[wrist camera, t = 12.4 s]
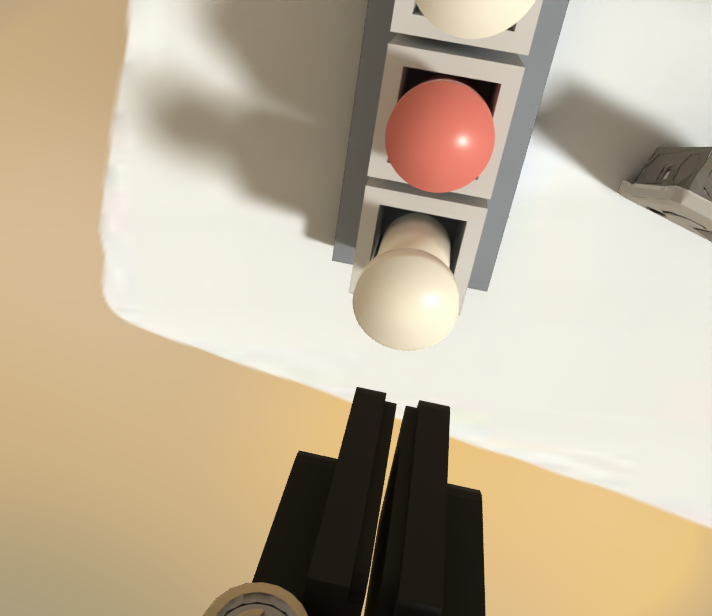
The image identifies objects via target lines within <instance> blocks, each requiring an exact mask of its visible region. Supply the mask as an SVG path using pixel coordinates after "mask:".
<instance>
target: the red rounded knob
mask: <svg viewBox="0 0 712 616" xmlns="http://www.w3.org/2000/svg"><path fill="white" fill-rule="evenodd" d="M494 143H495V129H494V123H493V118H492V115H491V112H490V109H489V107H488V106H487V104H486V102H485V101H484V99H483V98H482V97H481V96H480V95H479V94H478V93H477V91H476V89H475V87H474V86H473V84H472V83H471V82H470V81H469V80H468V79H466V78H465V77H461V76H455V75H450V74H444V73H439V72H438V73H435V74H432V75H430V76H428V77H426V78H425V79H424V80H422V81H421V82H420V83H419V84H418V85H417V86H415V87H413V88H412V89H410V90H409V91H408V92H407V93H405V94H404V95H403V96H402V98H401V99H400V100H399V101H398V103H397V104H396V106H395V107H394V109H393V111H392V113H391V115H390V117H389V120H388V123H387V127H386V132H385V147H386V152H387V155H388V159H389V161H390V163H391V165H392V167H393V168H394V170H395V171H396V173H397V174H398V175H399V176H400V177H401V178H402V179H403V180H404V181H406V182H407V183H408V184H410V185H411V186H413V187H415V188H418V189H420V190H423V191H427V192H433V193H444V192H450V191H454V190H457V189H460V188H462V187H464V186H466V185H468V184H469V183H471V182H472V181H473V180H475V179H476V178H477V177H478V176H479V175H480V174H481V173H482V171H483V170H484V169H485V167H486V166H487V164H488V162H489V160H490V158H491V155H492V152H493V149H494Z"/></svg>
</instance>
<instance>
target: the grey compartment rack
mask: <svg viewBox="0 0 712 616" xmlns="http://www.w3.org/2000/svg"><path fill="white" fill-rule="evenodd" d="M568 3H569V0H536V1H535V3H534V4H533V5H532V7H531V8H530V9H529V11H528V12H527V13H526V14H525V15H524V16H523V17H522V18H521V19H520V20H519V21H518V22H516V23H515V24H514V25H513V26H511V27H510V28H508V29H506V30H505V31H503V32H501V33H498V34H496V35H493V36H490V37H486V38H480V39H464V38H459V37H455V36H452V35H449V34H447V33H445V32H443V31H441V30H439V29H438V28H436V27H435V26H434V25H433V24H431V23H430V22H429V21H428V19H427V18H426V17H425V16H424V15H423V14H422V12H421V11H420V9H419V8H418V6H417V4H416V2H415V0H368V6H367V13H366V20H365V28H364V35H363V42H362V49H361V56H360V64H359V71H358V78H357V85H356V92H355V100H354V107H353V114H352V121H351V128H350V135H349V143H348V150H347V157H346V164H345V171H344V179H343V186H342V193H341V200H340V207H339V215H338V222H337V229H336V236H335V243H334V251H333V258H332V261H337V262H342V263H347V264H352V265H353V269H352V275H351V282H350V288H349V293H352V294H354V290H355V287H356V284H357V281H358V278H359V276H360V274H361V272H362V270H363V268H364V267H365V266H366V265H367V263H369V262H370V261H371V260H372V259H373V258H374V257H376V256H377V254H378V251H379V248H380V245H381V241H382V238H383V235H384V233H385V231H386V229H387V227H388V226H389V225H390V224H391V223H392V222H393V221H394V220H395V219H397V218H399V217H400V216H403V215H406V214H411V213H420V214H425V215H428V216H431V217H433V218H435V219H436V220H438V221H439V222H440V223H441V224H442V225H443V226H444V227H445V229H446V230H447V232H448V235H449V238H450V243H451V250H450V266H449V269H450V270H451V272H452V273H453V275H454V277H455V279H456V281H457V285H458V290H459V310H458V315H460V313H461V309H462V305H463V302H464V298H465V294H466V290H467V288H472V289H477V290H482V291H487V290H488V286H489V283H490V279H491V276H492V272H493V269H494V265H495V262H496V258H497V255H498V251H499V247H500V244H501V240H502V237H503V233H504V230H505V226H506V223H507V219H508V216H509V212H510V209H511V205H512V201H513V198H514V194H515V191H516V187H517V184H518V180H519V177H520V173H521V170H522V166H523V163H524V159H525V155H526V152H527V148H528V145H529V141H530V138H531V134H532V131H533V127H534V124H535V120H536V117H537V113H538V109H539V106H540V102H541V99H542V95H543V92H544V88H545V85H546V81H547V78H548V74H549V71H550V67H551V63H552V60H553V56H554V53H555V49H556V46H557V42H558V39H559V35H560V32H561V28H562V24H563V21H564V17H565V14H566V10H567V7H568ZM438 72H439V73H444V74H450V75H455V76H461V77H465V78H466V79H468V80H469V81H470V82H471V83H472V84H473V86H474V87H475V89H476V91H477V93H478V94H479V95H480V96H481V97H482V98H483V99H484V101H485V102H486V104H487V106H488V107H489V109H490V112H491V115H492V118H493V123H494V129H495V143H494V149H493V152H492V155H491V158H490V160H489V162H488V164H487V166H486V167H485V169H484V170H483V171H482V173H481V174H480V175H479V176H478V177H477V178H476V179H475V180H473V181H472V182H471V183H469V184H468V185H466V186H464V187H462V188H460V189H457V190H454V191H450V192H444V193H433V192H427V191H423V190H420V189H418V188H415V187H413V186H411V185H410V184H408V183H407V182H406V181H404V180H403V179H402V178H401V177H400V176H399V175H398V174H397V173H396V171H395V170H394V168H393V167H392V165H391V163H390V161H389V159H388V155H387V152H386V147H385V132H386V127H387V123H388V120H389V117H390V115H391V113H392V111H393V109H394V107H395V106H396V104H397V103H398V101H399V100H400V99H401V98H402V96H403V95H404V94H405V93H407V92H408V91H409V90H410V89H412V88H413V87H415V86H417V85H418V84H419V83H420V82H421V81H422V80H424V79H425V78H426V77H428V76H430V75H432V74H435V73H438Z"/></svg>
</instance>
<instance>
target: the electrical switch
mask: <svg viewBox="0 0 712 616" xmlns="http://www.w3.org/2000/svg"><path fill="white" fill-rule="evenodd" d="M711 151H712V147H689V148H657V149H656V151H655V153H654V154H653V156H652V158H651V160H650V161H649V163H648V165H646V166H645V167H644V169H643V170H642V172H641V173H640V175H639V177H638V179H637V180H636V181H635V183H634V184H631V183H630V182H628V181H624V180H623V182H622V184H621V186H620V188H619V190H618V193H619V194H620V195H622V196H624V197H625V198H627V199H629V200H631V201H633V202H635V203H637V204H639V205H641V206H642V207H644V208H646V209H648V210H650V211H652V212H654V213H656V214H658V215H660V216H662V217H664V218H666V219H668V220H670V221H672V222H674V223H676V224H678V225H680V226H682V227H684V228H686V229H688V230H690V231H692V232H694V233H695V234H697V235H699V236H701V237H703V238H705V239H707V240H709V241H711V242H712V153H711ZM710 153H711V154H710ZM709 155H710V156H709ZM708 156H709V158H708ZM707 158H708V159H707ZM706 160H707V161H706Z"/></svg>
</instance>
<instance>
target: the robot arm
mask: <svg viewBox="0 0 712 616" xmlns="http://www.w3.org/2000/svg"><path fill="white" fill-rule="evenodd" d="M385 398H386V393H383V392H379V391H374V390H369V389H365V388H360V387H357V388H356V392H355V396H354V399H353V403H352V407H351V411H350V415H349V419H348V422H347V426H346V430H345V434H344V437H343V441H342V446H341V449H340V453H339V457H338V459H335V458H330V457H326V456H321V455H316V454H312V453H308V452H303V451H299V452H298V453H297V456H296V458H295V461H294V464H293V467H292V469H291V473H290V475H289V478H288V481H287V484H286V487H285V490H284V492H283V496H282V498H281V501H280V504H279V507H278V510H277V512H276V515H275V518H274V521H273V524H272V527H271V530H270V532H269V535H268V538H267V541H266V544H265V547H264V550H263V553H262V555H261V558H260V561H259V564H258V567H257V570H256V573H255V575H254V578H253V581H252V583H245V584H242V585H239V586H237V587H233V588H230V589H229V590H228V591H226V592H225V593H223V594H222V595H220V596H219V597H217V598H216V600H214V602H213V603H212V604H211V605H210V607H209V608H208V609H207V610H206V612H205V613H204V615H203V616H361V612H362V608H363V603H364V599H365V594H366V589H367V583H368V578H369V573H370V566H371V560H372V554H373V547H374V542H375V535H376V529H377V523H378V516H379V511H380V504H381V498H382V492H383V486H384V480H385V473H386V467H387V460H388V455H389V448H390V442H391V435H392V430H393V423H394V417H395V411H396V405H397V404H396V403H391V402H386V401H385ZM449 424H450V407H449V406H444V405H440V404H435V403H430V402H426V401H421V400H419V403H418V406H417V408H415V407H410V406H406V408H405V411H404V416H403V420H402V424H401V428H400V433H399V437H398V441H397V446H396V450H395V454H394V458H393V463H392V467H391V471H390V476H389V480H388V484H387V488H386V493H385V497H384V501H383V506H382V510H381V515H380V519H379V525H378V530H377V536H376V543H375V549H374V555H373V562H372V568H371V574H370V581H369V587H368V593H367V600H366V606H365V612H364V616H485V585H484V553H483V552H484V551H483V518H482V517H483V514H482V495H481V492H480V490H475V489H470V488H466V487H461V486H457V485H453V484H448V483H447V477H448V450H449Z"/></svg>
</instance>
